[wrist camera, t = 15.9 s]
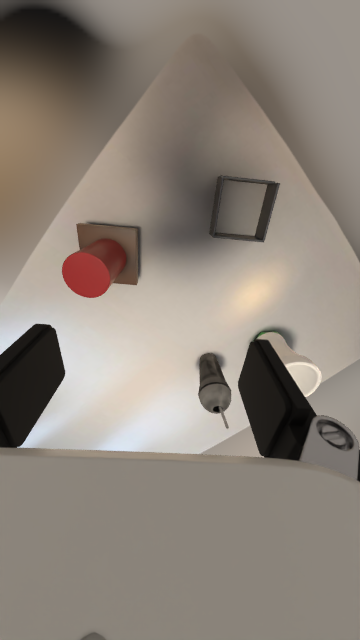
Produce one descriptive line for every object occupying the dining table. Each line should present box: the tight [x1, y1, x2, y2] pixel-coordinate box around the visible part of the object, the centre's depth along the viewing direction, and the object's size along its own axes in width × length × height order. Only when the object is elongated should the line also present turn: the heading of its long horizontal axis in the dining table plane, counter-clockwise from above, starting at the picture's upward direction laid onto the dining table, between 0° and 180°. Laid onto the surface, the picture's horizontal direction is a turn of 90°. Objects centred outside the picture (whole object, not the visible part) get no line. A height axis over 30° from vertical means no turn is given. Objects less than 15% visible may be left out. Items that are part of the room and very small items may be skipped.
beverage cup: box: [198, 353, 231, 429], centre depth 49 cm, size 7×7×20 cm
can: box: [62, 238, 126, 298], centre depth 34 cm, size 6×6×11 cm
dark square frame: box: [209, 176, 280, 242], centre depth 38 cm, size 9×9×4 cm
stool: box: [76, 223, 138, 285], centre depth 41 cm, size 10×10×5 cm
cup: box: [257, 331, 321, 397], centre depth 49 cm, size 11×11×14 cm
